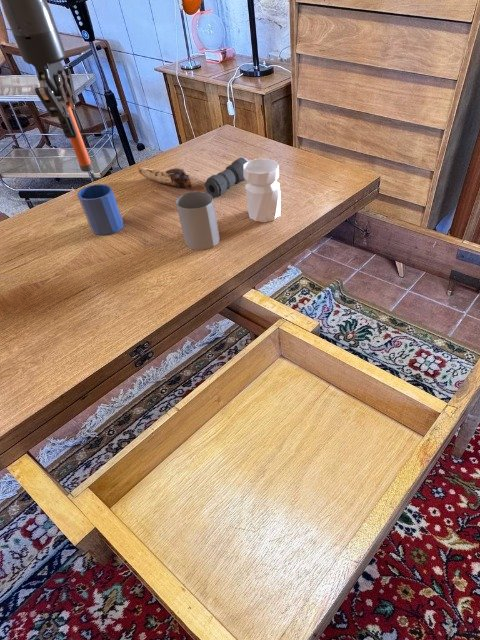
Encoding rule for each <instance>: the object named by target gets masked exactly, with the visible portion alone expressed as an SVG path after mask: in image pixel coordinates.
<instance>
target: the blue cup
mask: <svg viewBox="0 0 480 640" xmlns="http://www.w3.org/2000/svg"><path fill="white" fill-rule="evenodd" d="M76 195H77V198H78V201H79V204H80V206H81V209H82V211H83V213H84V215H85V218H86V220H87V223H88V225H89V227H90V230H91V232H92V233H93V234H95V235H98V236H110V235H113V234H116V233H118V232H120V231H121V230H123V228H124V226H125V223H124V220H123V217H122V214H121V211H120V208H119V205H118V202H117V200H116V196H115V193H114V191H113V188H112V187H111V186H110V185H108V184H104V183H96V184H91V185H87V186H85V187H82V188H81V189H80V190H78V192H77V193H76Z"/></svg>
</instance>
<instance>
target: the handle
mask: <svg viewBox="0 0 480 640" xmlns="http://www.w3.org/2000/svg"><path fill="white" fill-rule="evenodd" d="M61 107H62V105H61ZM67 108H68V112H69V116H70V117H71V120H72V122H73V125H74V128H75V130H76V133H77V136H76V137H75V138H68V139H69V141H70V143H71V146H72V149H73V151H74V154H75V156H76V159H77V162H78V165H79V168H80V171H81V172H84V173H86V172H91V171H93V170H94V166H93V163H92V161H91V159H90V155H89V153H88V151H87V148H86V145H85V142H84V140H83V136H82V134H81V131H79V129H78V126H77V123H76V120H75V118H74V115H73V112H72V109H71V107H70V105H67Z"/></svg>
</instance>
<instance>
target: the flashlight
mask: <svg viewBox="0 0 480 640" xmlns="http://www.w3.org/2000/svg"><path fill="white" fill-rule="evenodd" d="M248 161H249V160H248V159H247V158H246V157H244V156H242V157H241V156H240V157H238V158H237V159H235V160H234V161H233V162H232V163H231V164H229V165H227V166H226V167H225V169H224V170H222V171H221V172H218V173H217V174H212V175H210V176H209V177H208V178H207V179H206V181H204V188H205V191H206V193H208V194H210V195H211V196H212V198H219V197H220V196H222V195H223V194H225V193H226V191H227V190H229V189H230V188H231V187H232V186H233V185H237V184H239V183H240V182H243V181H246V180H245V179H244V173H243V164H245V163H246V162H248Z"/></svg>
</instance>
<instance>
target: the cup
mask: <svg viewBox="0 0 480 640" xmlns="http://www.w3.org/2000/svg"><path fill="white" fill-rule="evenodd" d="M175 206H176V210H177V214H178V219H179V223H180V227H181V231H182V235H183V239H184V243H185V245H186V247H188V248H190V249H191V250H197V251H202V250H203V251H204V250H205V251H206V250H209V249H212V248H215V247H216V246H217V245H218V244H219V243H220V240H221V237H220V230H219V225H218V219H217V215H216V214H217V213H216V208H215V203H214V197H212V196H211V195H210V194H208V192H207V191H206V192H205V191H188V192H186V193H183V194H181V195H180V196H178V197H177V198H176V200H175Z"/></svg>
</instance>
